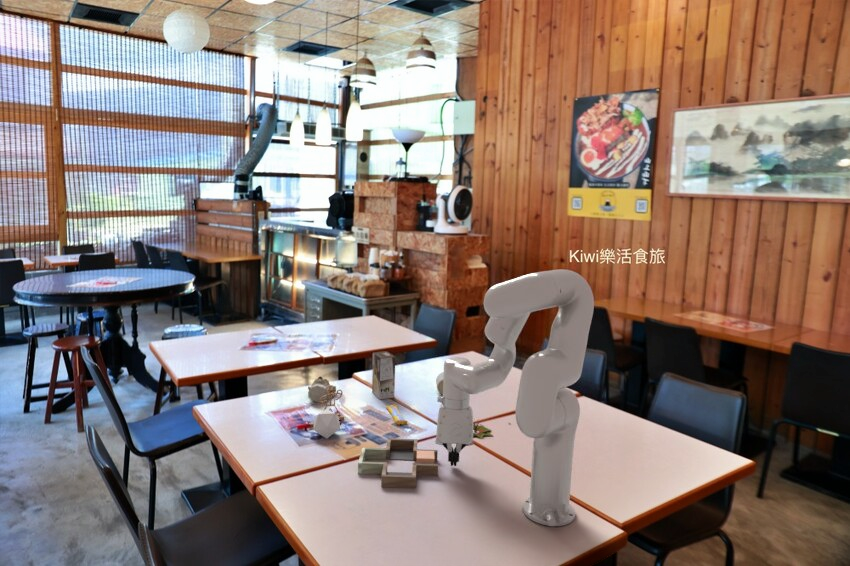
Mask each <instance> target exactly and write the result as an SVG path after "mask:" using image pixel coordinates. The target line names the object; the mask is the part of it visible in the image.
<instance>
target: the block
mask: <svg viewBox="0 0 850 566" xmlns="http://www.w3.org/2000/svg"><path fill="white" fill-rule="evenodd" d="M434 460H435V458H434V451H418V450H417V461H416V463H419V464H435V461H434Z"/></svg>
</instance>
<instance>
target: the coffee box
mask: <svg viewBox="0 0 850 566" xmlns="http://www.w3.org/2000/svg"><path fill="white" fill-rule="evenodd" d="M371 376H372V377H371V378H372V380H371V381H372V383H371V384H372V386H371V387H372V389H371V390H372V391H371V392H372V394H374V395H375V397H377V398H378V399H379V400H386V399H393V398H395V394H396V393H395V392H396V391H395V388H396V387H395V386H396V381H395V380H396V356H395V355H393V354H392V353H390V352H389V351H384V350H383V351H376V352H372V375H371Z"/></svg>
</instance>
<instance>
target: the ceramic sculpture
mask: <svg viewBox="0 0 850 566" xmlns="http://www.w3.org/2000/svg"><path fill="white" fill-rule="evenodd" d="M329 385H331V383H330V382H329V380H328V379H326V378H323V376H318V377H317V378H316V379H315V380H314V381H313V382H312V383H311V384H310V386H308V387H307V389H308V392H307V394H308V398H309V399H310V401H312V402H314V403H317V404H319V400H320V398H321V397H322V396H325V395H327V394H328V393H327V392H329V393H332V392H333V391H334V392H335V390H333V391H331V390H330V391H326V393H327V394H326V393H325V389H326V387H327V386H329ZM333 386H334V387H335V388H336V389H337V386H336V385H333ZM334 387H332V386H330V387H328V388H327V390H328V389H335V388H334ZM328 395H329V394H328ZM327 399H328V396H326V397H323V398H322V399H321V400H320V401H322V402H324V401H325V400H327Z"/></svg>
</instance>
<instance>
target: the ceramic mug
mask: <svg viewBox="0 0 850 566" xmlns="http://www.w3.org/2000/svg"><path fill="white" fill-rule="evenodd" d="M443 379H444V371H443V372H441V373H439V374H438V375H437V377H436V379H435V383H436V389H437V391H438V393H439V394H441V396H443Z"/></svg>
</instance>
